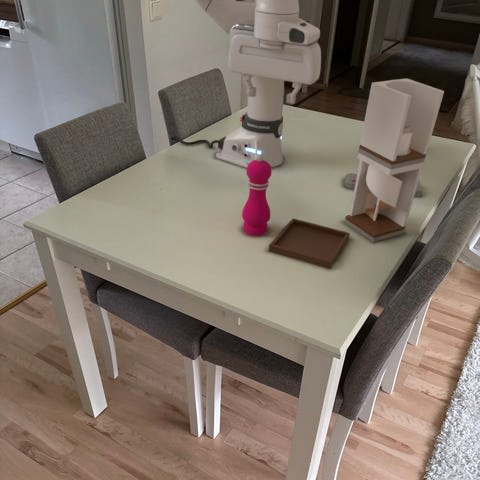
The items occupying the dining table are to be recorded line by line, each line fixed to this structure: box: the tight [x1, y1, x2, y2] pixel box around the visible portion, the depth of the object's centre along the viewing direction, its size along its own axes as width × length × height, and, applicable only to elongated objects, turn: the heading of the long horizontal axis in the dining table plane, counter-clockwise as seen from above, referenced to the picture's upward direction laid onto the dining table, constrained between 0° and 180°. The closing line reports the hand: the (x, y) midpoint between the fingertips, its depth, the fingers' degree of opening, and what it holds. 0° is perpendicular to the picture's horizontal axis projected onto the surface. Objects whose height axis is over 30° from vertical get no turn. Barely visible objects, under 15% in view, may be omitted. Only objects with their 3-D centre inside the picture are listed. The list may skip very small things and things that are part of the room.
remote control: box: [344, 172, 422, 198], centre depth 149 cm, size 8×23×2 cm, turn 79°
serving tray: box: [268, 217, 350, 269], centre depth 121 cm, size 16×16×2 cm
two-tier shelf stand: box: [344, 78, 445, 243], centre depth 119 cm, size 11×11×35 cm
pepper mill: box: [241, 154, 273, 237], centre depth 120 cm, size 7×7×20 cm
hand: (270, 99), depth 108 cm, fingers open, 8 cm apart
